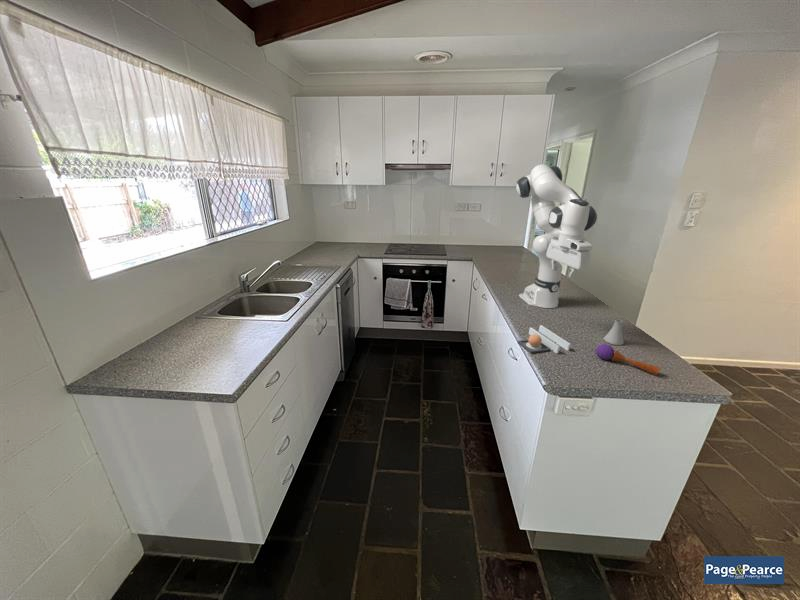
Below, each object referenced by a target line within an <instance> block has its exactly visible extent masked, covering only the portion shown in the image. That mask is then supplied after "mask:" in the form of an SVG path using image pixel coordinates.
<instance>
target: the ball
mask: <svg viewBox="0 0 800 600" xmlns="http://www.w3.org/2000/svg"><path fill="white" fill-rule="evenodd" d="M527 340H528V342H529V344H530V345H531V346H534V347H536V346H539V345H540V344H541V341H542V340H541V337H540V336H539V335H536V334H533V335H529V337H528V338H527Z"/></svg>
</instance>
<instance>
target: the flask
mask: <svg viewBox="0 0 800 600" xmlns="http://www.w3.org/2000/svg"><path fill="white" fill-rule="evenodd" d="M623 324H624V320H622V319H617V318H616V319H614V323H613V325H612V326H611V327H612V328H611V329H610V330H609V331H608V333H607V334H606V335H605V336H603V338H602V340H604V341H605V343H608V344H611V345H612V346H622V345H624V344H625V342H624V337H623V331H622V330H623Z"/></svg>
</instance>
